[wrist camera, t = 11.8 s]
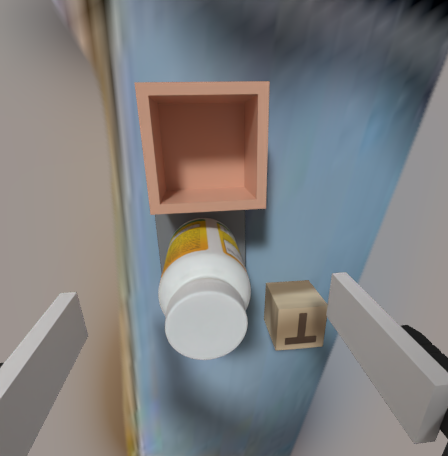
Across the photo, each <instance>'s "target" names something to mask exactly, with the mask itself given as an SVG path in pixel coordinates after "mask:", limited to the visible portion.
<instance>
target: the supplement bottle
mask: <svg viewBox="0 0 448 456" xmlns="http://www.w3.org/2000/svg"><path fill="white" fill-rule="evenodd" d="M158 296H159V303H160V306H161V309H162V311H163V313H164V315H165V316H166V320H165V332H166V336H167V339H168V341H169V343H170V344H171V346H172V347H173V348H174V349H175V350H176V351H178V352H179V353H180V354H182V355H184V356H186V357H189V358H192V359H198V360H209V359H215V358H218V357H221V356H224V355H226V354H228V353H230V352H231V351H233V350H234V349H235V348H236V347H237V346H238V345H239V344H240V343H241V341H242V340H243V338H244V336H245V334H246V331H247V325H248V321H247V315H246V309H247V307H248V305H249V301H250V297H251V286H250V281H249V277H248V274H247V271H246V268H245V266H244V263H243V260H242V258H241V255H240V252H239V249H238V246H237V243H236V241H235V238H234V236H233V234H232V232H231V231H230V230H229V229H228V228H227V227H226V226H225V225H224V224H223V223H221V222H219V221H217V220H214V219H211V218H196V219H193V220H190V221H188V222H186V223H184V224H183V225H181V226H180V227H179V228H178V229H177V230H176V231H175V233H174V234H173V236H172V238H171V240H170V243H169V248H168V252H167V256H166V260H165V264H164V268H163V272H162V276H161V280H160V284H159V293H158Z"/></svg>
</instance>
